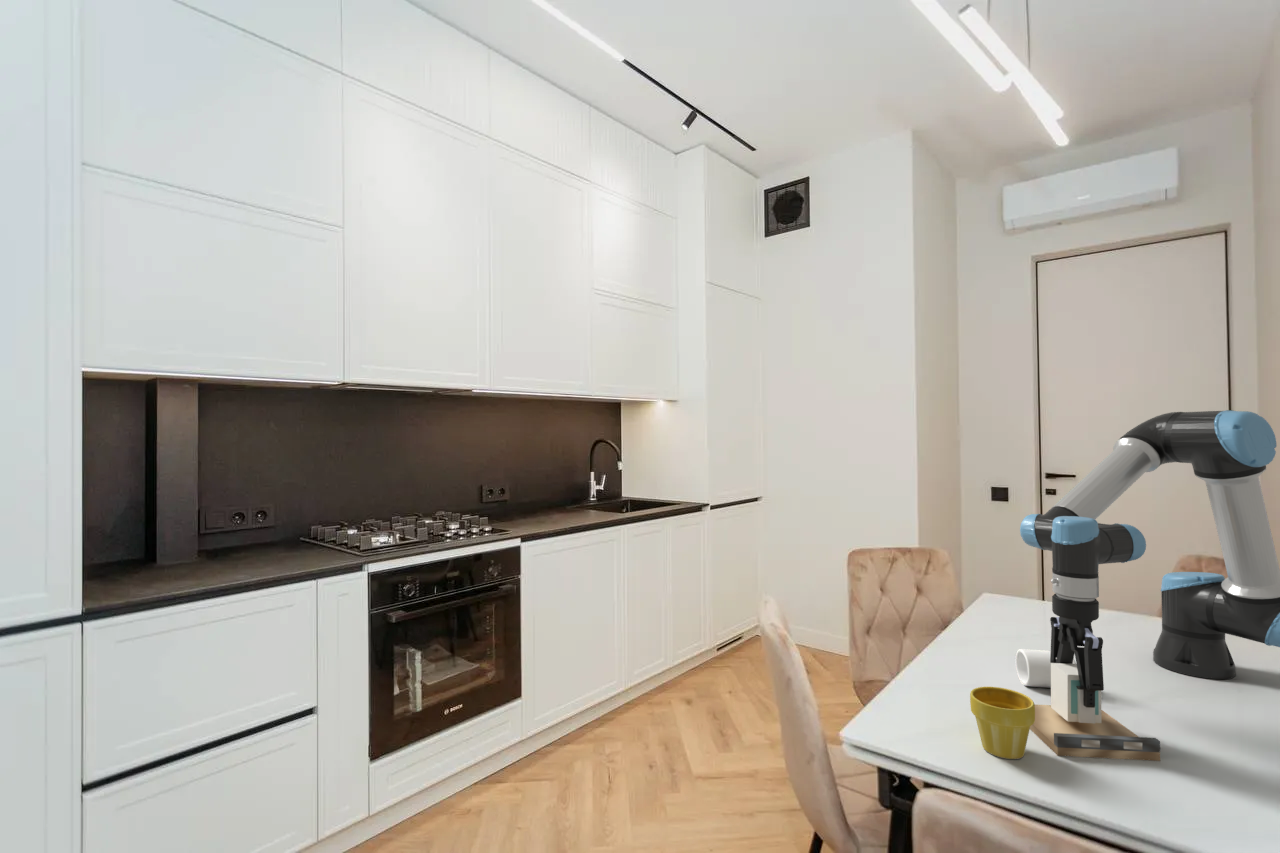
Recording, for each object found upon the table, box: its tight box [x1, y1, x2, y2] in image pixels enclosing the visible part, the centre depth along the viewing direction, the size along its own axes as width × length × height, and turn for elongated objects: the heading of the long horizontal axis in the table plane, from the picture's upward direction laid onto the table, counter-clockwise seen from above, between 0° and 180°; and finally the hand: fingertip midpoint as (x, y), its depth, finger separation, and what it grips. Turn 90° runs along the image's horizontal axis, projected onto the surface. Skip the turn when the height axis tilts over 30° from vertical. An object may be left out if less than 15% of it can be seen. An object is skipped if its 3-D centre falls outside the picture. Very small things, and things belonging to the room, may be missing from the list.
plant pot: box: [969, 686, 1035, 760], centre depth 115 cm, size 10×10×10 cm
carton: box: [1050, 663, 1102, 723], centre depth 122 cm, size 6×6×9 cm
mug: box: [1014, 648, 1076, 689], centre depth 145 cm, size 12×10×8 cm
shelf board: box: [1029, 703, 1161, 762], centre depth 120 cm, size 17×18×4 cm
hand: (1075, 713), depth 122 cm, fingers closed on carton, 6 cm apart
